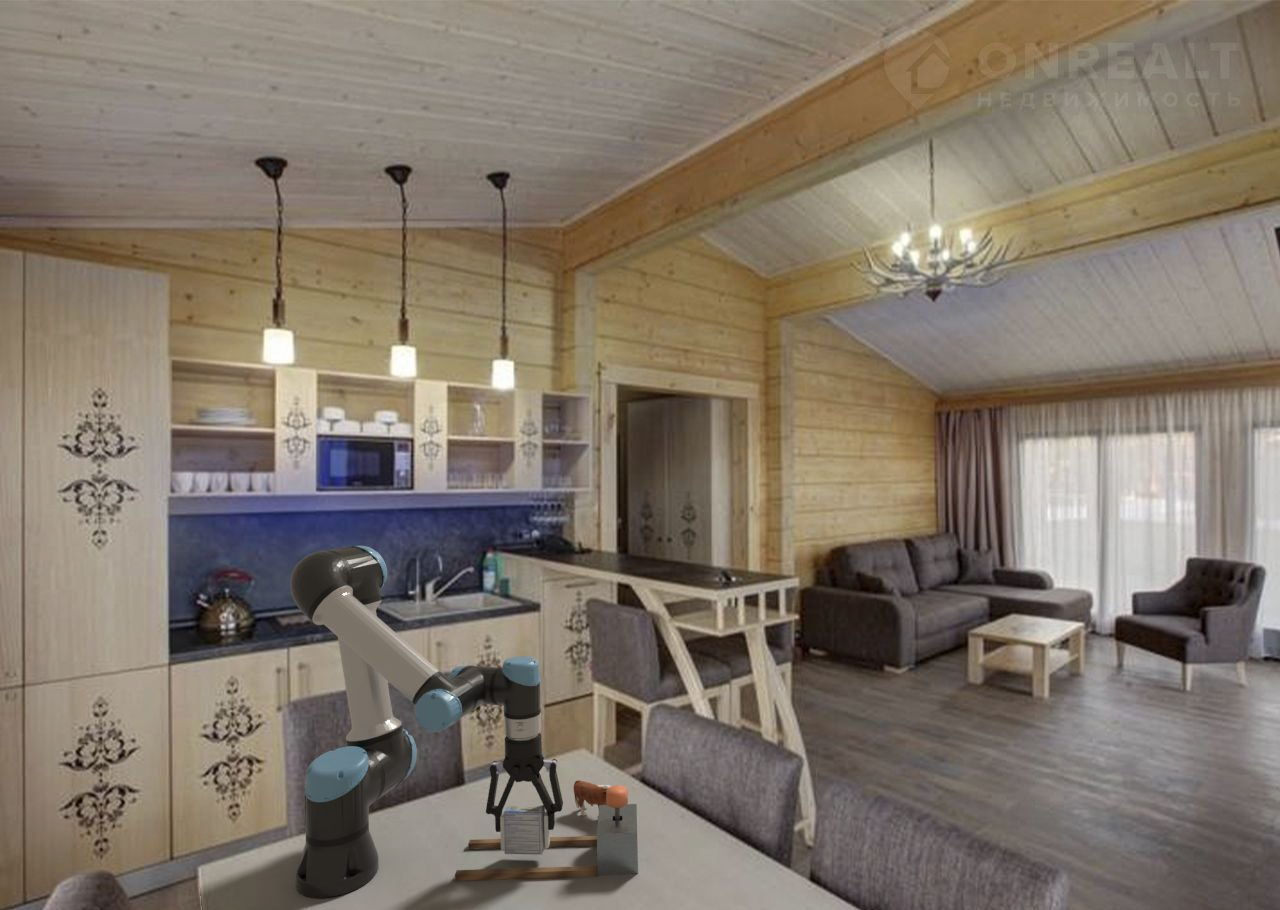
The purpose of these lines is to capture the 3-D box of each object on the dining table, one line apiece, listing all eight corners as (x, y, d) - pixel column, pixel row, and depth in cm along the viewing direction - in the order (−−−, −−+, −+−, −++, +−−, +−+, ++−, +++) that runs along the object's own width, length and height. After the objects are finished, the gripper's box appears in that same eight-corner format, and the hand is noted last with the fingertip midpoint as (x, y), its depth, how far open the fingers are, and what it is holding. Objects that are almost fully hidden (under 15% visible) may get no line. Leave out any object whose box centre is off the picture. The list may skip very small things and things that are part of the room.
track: (454, 880, 137) (454, 874, 137) (469, 845, 150) (469, 839, 150) (597, 876, 138) (597, 870, 138) (600, 841, 151) (600, 835, 151)
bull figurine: (614, 829, 156) (613, 792, 156) (570, 812, 164) (569, 777, 164) (626, 821, 159) (625, 784, 160) (582, 805, 168) (581, 770, 168)
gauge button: (606, 827, 142) (605, 795, 142) (607, 817, 147) (606, 785, 147) (628, 827, 142) (627, 794, 142) (628, 816, 147) (627, 785, 147)
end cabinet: (597, 874, 138) (596, 833, 138) (600, 842, 150) (599, 805, 150) (638, 873, 138) (637, 832, 139) (637, 841, 150) (636, 803, 151)
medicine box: (547, 844, 146) (546, 802, 146) (542, 856, 141) (540, 812, 142) (510, 843, 147) (509, 801, 147) (503, 855, 142) (502, 812, 142)
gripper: (467, 743, 141) (470, 857, 140) (572, 739, 141) (575, 853, 140) (476, 729, 148) (478, 838, 148) (575, 726, 148) (578, 834, 148)
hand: (525, 845), depth 144 cm, fingers closed on medicine box, 8 cm apart
